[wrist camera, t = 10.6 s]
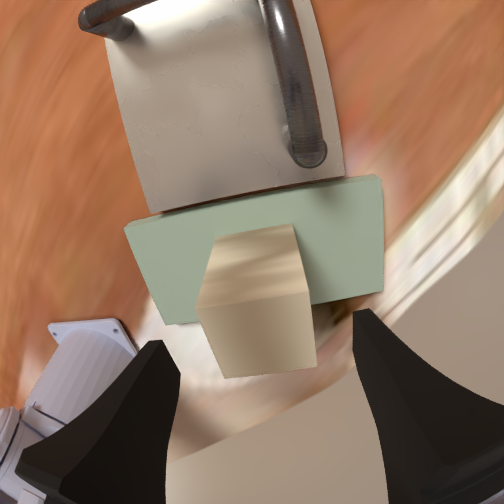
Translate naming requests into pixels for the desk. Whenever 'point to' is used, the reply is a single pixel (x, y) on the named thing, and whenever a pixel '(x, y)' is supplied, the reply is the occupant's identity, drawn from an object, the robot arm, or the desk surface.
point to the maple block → (257, 304)
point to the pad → (262, 216)
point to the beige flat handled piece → (219, 95)
